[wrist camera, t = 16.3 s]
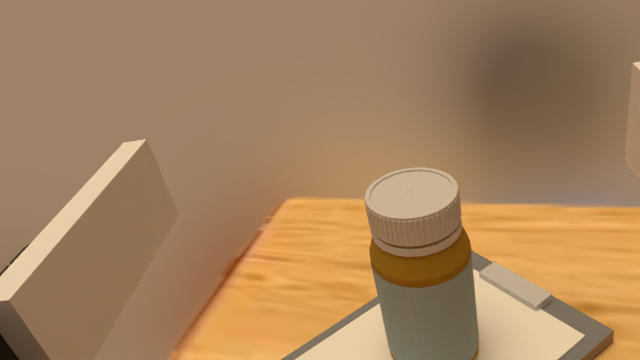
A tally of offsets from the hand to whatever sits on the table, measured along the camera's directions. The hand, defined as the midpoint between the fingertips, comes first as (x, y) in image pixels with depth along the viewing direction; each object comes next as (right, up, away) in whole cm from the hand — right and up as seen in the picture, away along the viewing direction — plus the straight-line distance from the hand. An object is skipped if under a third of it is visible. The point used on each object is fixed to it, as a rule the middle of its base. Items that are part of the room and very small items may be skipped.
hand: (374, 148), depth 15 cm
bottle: (+8, -14, +28) cm, 32 cm away
